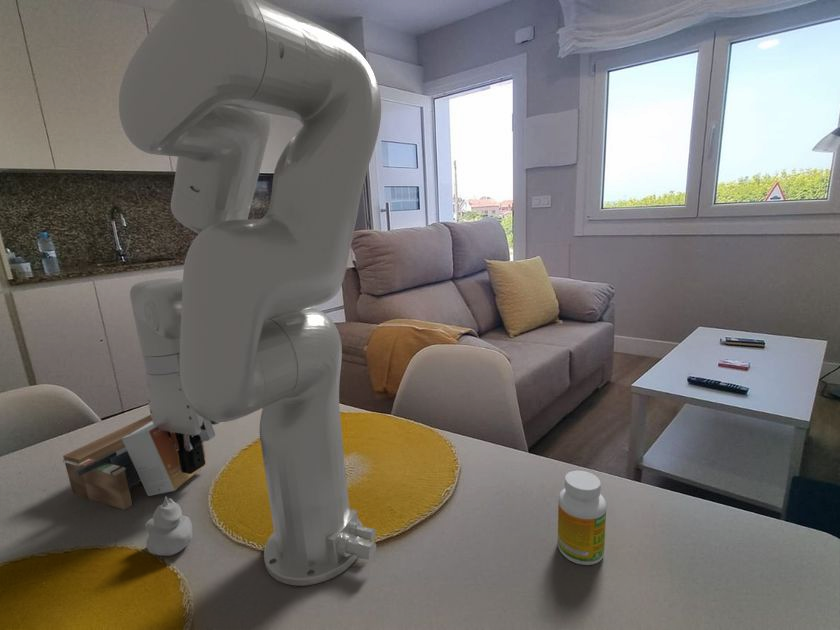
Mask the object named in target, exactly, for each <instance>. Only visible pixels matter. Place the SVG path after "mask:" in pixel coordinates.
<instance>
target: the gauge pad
mask: <svg viewBox="0 0 840 630" xmlns="http://www.w3.org/2000/svg"><path fill="white" fill-rule="evenodd" d="M104 463H110V464H114V465H117V466H123V467H125V468H126V469H125V475H126V479H127V483H128V488H130V487H131V486H133V485H135V484H137V483H138V482H141V480H140V477H139V475H138V473H137V471H136V469H135V466H134V464H133V462H132V460H131V458H130V456H129V453H128V451H127V449H126V447H124V448H122V449H120V450H119V451H117V452H114V451H113V452H111V453H109V454H107V455H105V456H103V457H101V458H99V459H97V460H95V461H93V462H91V463H89V464H87V465H85V466H83V467H81V468H79V469H77V470H75V474H76V476H81V475H83V474H85V473H87V472H88V471H90V470H92V469H94V468H96V467H98V466H100V465H102V464H104Z"/></svg>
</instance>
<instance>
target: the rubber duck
mask: <svg viewBox="0 0 840 630" xmlns="http://www.w3.org/2000/svg"><path fill="white" fill-rule="evenodd" d="M144 528H145V530H146V532H147V533H148V538H147V539H146V548H147V550H148V552H149V553H151V554H152V555H157V556H166V557H168V556H173V555H176V554H178V553H179V552H181V551H183V550H184V548H186V547H187V546H189V544H190V543H191V541H192V540H193V524H192V521H191V519H190V518H189V517H188V516H186V515H183V511H182V508H181V506H180V504H179V503H177V502H175V501H174V499H172V498H170V497H169V498H168V497H167V496H165V498H164V500H163V503H162V504H159V505H157V507H156V509H155V510H154V512H153V514H152V518H150V519H148V521H147V522H146V523H145V525H144Z"/></svg>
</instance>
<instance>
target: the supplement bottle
mask: <svg viewBox="0 0 840 630" xmlns="http://www.w3.org/2000/svg"><path fill="white" fill-rule="evenodd" d="M601 483H602V482H601V480H600V478H599V477H597V476H596V475H595V474H593V473H591V472H589V471H586V470H572V471H569V472H567V473H566V474H565V476H564V488H563V489H562V490H561V491H560V493H559V495H558V507H557V510H558V511H557V513H558V514H557V516H558V517H557V547H558V549H559V552H560V553H561V554H562V555H563V556H564V558H566V559H567V560H568V561H570V562H573V563H575V564H577V565H583V566H590V565H595V564H598V563H599V562H600V561H602V559H603V558H604V556H605V555H604V554H605V541H606V538H605V537H606V523H607V521H606V520H607V502H606V499H605V497H604V496H603V494H601V490H602V488H601V486H602V485H601Z"/></svg>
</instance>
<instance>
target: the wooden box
mask: <svg viewBox="0 0 840 630" xmlns="http://www.w3.org/2000/svg"><path fill="white" fill-rule="evenodd" d="M151 421H152V418H151V414H149V415H147V416H144V417H143V418H140V419H139V420H136V421H134V422H132V423H130V424H128V425H126V426H124V427H122V428H120V429H119V428H118V429H117V430H115V431H113V432H111V433H108V434H106V435H103V436H102V437H99V438H97V439H96V440H94V441H92V442H89V443H87V444H85V445H83V446H81V447H78V448H77V449H74V450H72V451H70V452H68V453H65V454H64V455H62V458H63V459H62V463H64V465H65V469H66V472H67V476H68V479H69V485H70V488H71V491H72V495H74V496H78V497H80V498H81V497H82V498H85V499H88V500H92V501H95V502H99V503H102V504H105V505H109V506H112V507H116V508H118V509H123V510H126V509H127V508H130V507H131V506H133V502H132V497H131V492H130V487H128V483H127V479H126V475H125V469H126V468H125V467H123V466H117V465H114V464H110V463H104V464H102V465H100V466H98V467H96V468H94V469H92V470H90V471H88V472H87V473H85V474H83V475H81V476H76V474H75V470H77V469H79V468H81V467H83V466H85V465H87V464H89V463H91V462H93V461H95V460H97V459H99V458H101V457H103V456H105V455H107V454H109V453H111V452H113V451H114V452H117V451H119V450H120V449H122V448H124V447H125V445H124V443H123V440H122V438H123V437H125V436H127V435H129V434H131V433H133V432H135V431H136V430H138V429H140V428H141V427H143V426H145V425H146V424H148V423H150V422H151ZM202 447H203V452H204V457H205V459H206V451H205V445H204V443H203V444H202Z"/></svg>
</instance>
